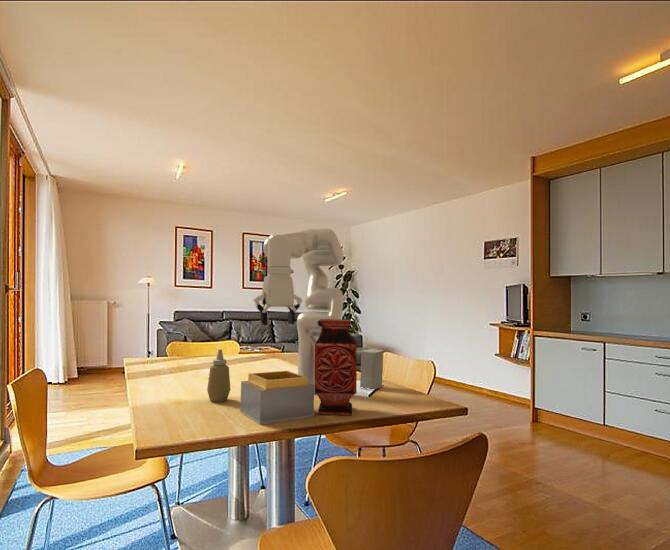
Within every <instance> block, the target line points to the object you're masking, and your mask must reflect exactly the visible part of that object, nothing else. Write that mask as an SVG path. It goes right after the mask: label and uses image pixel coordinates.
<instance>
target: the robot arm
mask: <svg viewBox="0 0 670 550" xmlns="http://www.w3.org/2000/svg"><path fill="white" fill-rule="evenodd" d="M263 254H264V255H265V257H267V271H266V272H267V273H266V274H267V276H264V278H263V283H262V291H261V294H260V295H258V296H256V297H254V298H253V300H252V301H253V303H254V305H255V307H256V309H257V310H258V311H259V313H260V323H261V325H262V326H267V325H268V315H269V314H268V312H267V311H268V310H269V309H270V307H271V308H280V307H281V308H285V307H286V308H287V309H288V313H287V323H288V324H289V325H295V321H296V328H297V334H298V335H297V336H298V337H297V338H298V353H297V355H298V356H297V357H298V358H297V359H298V360H297V374H299V375H302V376H305V377H307V383H309V384H312V385H314V394H316V393H315V343H316V342H317V340H318V338H319V337H317V336H320V334H321V329H322V327H321V326H318V321H319V320H320V319H340V320H342V315H343V307H344V295H343V292H342V290H341V289H339V288H337V287H328V285H329V277H328V276H327V275H328V274H326V272H325V270H324V269H323V268H321V267H336V266H337V267H338V266H340V265H341V264H342V263H343V262H344V250H343V247H342V245H341V242H340V240H339V238H338V235H337V234H336V232H335V231H334V230H332V229H331V228H311V229H305V230H302V231H295V232H290V233H285V234H271V235H269V237H267V238H266V239H265V241H264V242H263ZM301 257H302V259H303V263H304V266H305V269H306V273H307V283H306V285H307V286H306V291H305V294H304V295H305V296H304V305H305V308H306V309H307V311H303V312H301V313H299V314H298V316H297V319H296V317H295V316H296V312H297V310H298V309H299V308H300V307H301V304H302V302H303V299H302V298H301V297H299V296H298V295H296V294H295V289H294V282H293V277H292V276H291V275H292V274H294V269H292V267H291V260H295V259H296V260H297V259H300V258H301ZM295 301H296V302H295ZM260 302H261V303H260ZM294 303H295V304H294ZM309 310H310V311H309Z"/></svg>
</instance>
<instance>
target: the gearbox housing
mask: <svg viewBox="0 0 670 550" xmlns="http://www.w3.org/2000/svg"><path fill="white" fill-rule="evenodd" d="M247 377H248V380H241V382H240V403H239V404H240V409H239V410H240V413H241V414H242V415H244V416H246V417H248V418H249V419H250V420H252V421H253V422H254V423H257V424H259V425H266V424H267V425H268V424H272V423H273V424H274V423H279V422H286V421H287V422H288V421H294V420H295V421H296V420H301V419H302V420H303V419H308V418H314V416H315V415H314V414H315V413H314V411H315V410H314V407H315V393H314V385H312V384H309V383H307V377H305V376H302V375H299V374H298V373H295V372H292V371H290V370H279V371H265V372H254V373H253V372H252V373H251V372H250V373H248V376H247Z"/></svg>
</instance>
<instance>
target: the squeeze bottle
mask: <svg viewBox="0 0 670 550" xmlns="http://www.w3.org/2000/svg"><path fill="white" fill-rule="evenodd" d="M227 362H228V361H227V359H225V358H224V354H223V349H220V348H219V349H218V351H217V354H216V358H215V359H213V361H212V365H211V366H210V367H209V373H208V382H207V389H206V391H207V394H208V398H209V401H210V402H214V403H222V402H225V401H227V400H228V398H229V395H230V392H231V380H230V379H231V378H230V377H231V376H230V367H229V366H228V365H227Z"/></svg>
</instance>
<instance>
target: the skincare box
mask: <svg viewBox="0 0 670 550" xmlns="http://www.w3.org/2000/svg"><path fill="white" fill-rule="evenodd" d="M360 358H361V359H360V361H361V362H360V378H359V379H360V380H359V381H360V382H359V384H360V385H359V388H360V387H363V388H369V389H375V390H377V389H380V388H382V387H383V374H384V373H383V372H384V371H383V370H384V369H383V368H384V350H382V349H376V348H369V349H366V350H361V355H360ZM363 388H362V389H363Z"/></svg>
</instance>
